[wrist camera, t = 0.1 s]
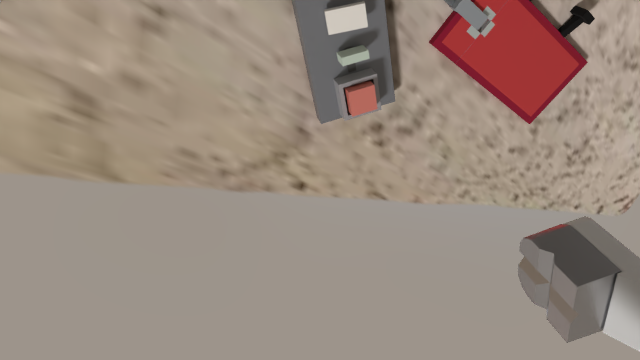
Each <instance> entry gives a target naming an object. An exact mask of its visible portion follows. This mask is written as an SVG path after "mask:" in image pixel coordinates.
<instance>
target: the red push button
mask: <svg viewBox="0 0 640 360" xmlns="http://www.w3.org/2000/svg"><path fill="white" fill-rule="evenodd" d="M345 93H346V99H347V105H348V110H349V113H350V114H351V115H352V117H353V116H356V115H360V114H363V113H366V112H369V111H373V110H376V109H377V101H376V94H375V86H374V84H373V83H372V82H371V81H370V80H369V81H366V82H362V83H359V84H356V85H352V86H349V87H346V88H345Z"/></svg>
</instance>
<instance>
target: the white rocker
mask: <svg viewBox="0 0 640 360" xmlns="http://www.w3.org/2000/svg"><path fill="white" fill-rule="evenodd" d="M324 12H325V18H326V23H327V29H328V34H329V35H332V34H337V33H341V32H346V31H351V30H356V29H361V28H366V27H368V23H367V15H366V8H365V2H364V1H362V2H357V3H353V4H348V5H343V6H338V7H334V8H329V9H324Z"/></svg>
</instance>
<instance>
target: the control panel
mask: <svg viewBox="0 0 640 360" xmlns="http://www.w3.org/2000/svg"><path fill="white" fill-rule="evenodd" d="M362 1H364V2H365V8H366V15H367V23H368V27H366V28H361V29H356V30H351V31H346V32H341V33H337V34H332V35H329V34H328V29H327V23H326V18H325V12H324V9H329V8H334V7H338V6H343V5H348V4H353V3H357V2H362ZM292 4H293V9H294V13H295V18H296V22H297V27H298V32H299V36H300V41H301V45H302V50H303V55H304V59H305V64H306V68H307V73H308V78H309V82H310V87H311V91H312V96H313V101H314V105H315V110H316V114H317V118H318V119H319V121H320V123H321V124H323V123H326V122H329V121H332V120H336V119H339V118H342V117H343V119H344V120H349V119H352V118H355V117H359V116H362V115H365V114H368V113H372V112H375V111H378V110H381V105H385V104H388V103H391V102H395V94H394V85H393V76H392V66H391V57H390V47H389V38H388V29H387V19H386V10H385V0H292ZM360 45H363V46H364V47H365V48H367V49H368V51H369V58H370V59H366V60H363V61H360V62H356V63H353V64H349V65H346V66H342V65H341V63H340V62H339V61H338V58H337V53H336V52H339V51H343V50H346V49H350V48H353V47H357V46H360ZM369 80H370V81H371V82H372V83H373V84H374V86H375V94H376V101H377V109H376V110H373V111H369V112H366V113H363V114H360V115H356V116H353V117H352V115H351V114H350V113H349V110H348V105H347V99H346V93H345V88H346V87H349V86H352V85H356V84H359V83H362V82H366V81H369Z"/></svg>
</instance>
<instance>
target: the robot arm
mask: <svg viewBox="0 0 640 360" xmlns="http://www.w3.org/2000/svg"><path fill="white" fill-rule="evenodd" d="M520 252H521V253H522V254H523V255H524V258H523V259H522V261H521V262H520V264H519V266H518V276H519V279H520V282H521V285H522V288H523V289H524V291H525V293H526V294H527V296H528V297H529V298H530V299H531V301H532V302H533V303H534V304H536V305H538V306H541V307H543V308H546V309H547V320H548V321H549V322H550V323H551V324H552V326H553V327H554V328H555V329H556V330H557V332H558V333H559V334H560V335H561V336H562V338H563V339H564V340H565V341H566V342H567V343H568V342H571V341H573V340H576V339H579V338H582V337H585V336H588V335H591V334H593V333H596V332H599V331H602V330H603V333H605V334H607V335H609V336H611V337H612V338H615V339H616V340H618V341H620V342H622V343H624V344H626V345H628V346H630V347H632V348H634V349H636V350H637V351H639V352H640V258H639V257H638V256H636V255H635V254H634V253H633V252H631V251H630V250H629V249H628V248H627V247H625V246H624V245H623V244H622V243H621V242H619V241H618V240H617V239H616V238H614V237H613V236H612V235H611V234H610V233H608V232H607V231H606V230H605V229H603V228H602V227H601V226H600V225H599V224H597V223H596V222H595V221H594V220H592V219H591V218H588V217H586V216H585V217H582V218H579V219H576V220H573V221H570V222H567V223H565V224H560V225H558V226H555V227H552V228H549V229H547V230H544V231H541V232H539V233H536V234H533V235H530V236H528V237H525V238H523V240H522V241H521V242H520Z"/></svg>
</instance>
